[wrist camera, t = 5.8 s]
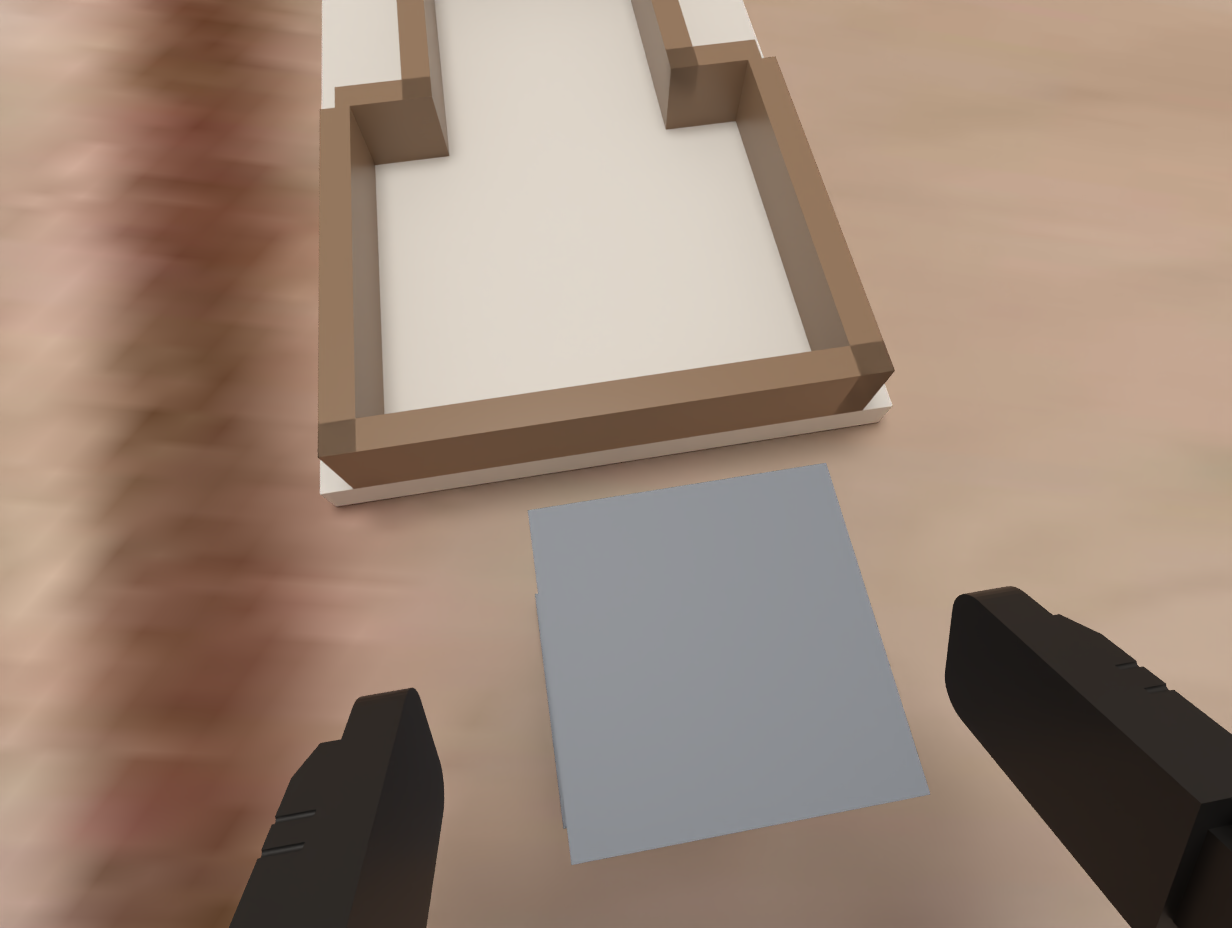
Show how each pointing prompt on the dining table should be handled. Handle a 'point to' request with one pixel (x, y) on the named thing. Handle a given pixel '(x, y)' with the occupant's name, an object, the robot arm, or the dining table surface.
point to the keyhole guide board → (570, 245)
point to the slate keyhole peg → (713, 664)
